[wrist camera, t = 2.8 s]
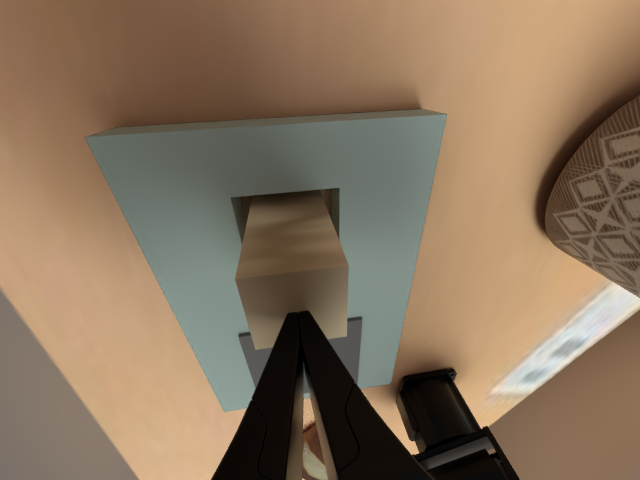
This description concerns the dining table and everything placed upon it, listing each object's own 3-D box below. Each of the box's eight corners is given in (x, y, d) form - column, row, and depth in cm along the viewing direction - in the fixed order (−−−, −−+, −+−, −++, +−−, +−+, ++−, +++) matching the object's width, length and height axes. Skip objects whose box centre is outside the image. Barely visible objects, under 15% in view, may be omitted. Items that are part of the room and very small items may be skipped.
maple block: (318, 186, 16) (348, 265, 9) (320, 240, 18) (346, 336, 11) (253, 192, 15) (235, 278, 9) (263, 246, 18) (255, 349, 11)
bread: (337, 407, 32) (346, 456, 28) (382, 429, 37) (396, 473, 33) (273, 441, 35) (272, 491, 30) (324, 458, 40) (329, 502, 36)
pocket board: (422, 108, 14) (450, 114, 12) (382, 360, 27) (391, 386, 25) (116, 127, 13) (79, 138, 10) (228, 384, 26) (223, 415, 23)
